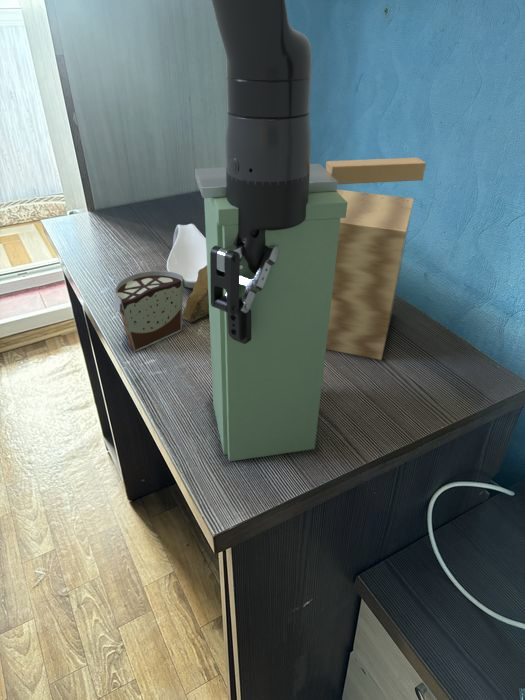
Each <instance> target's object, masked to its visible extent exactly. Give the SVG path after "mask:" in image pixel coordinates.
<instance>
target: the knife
mask: <svg viewBox="0 0 525 700" xmlns="http://www.w3.org/2000/svg"><path fill="white" fill-rule="evenodd" d="M426 165H427V162H426V161H424V160H422V159H421V158H419V157H399V158H398V157H397V158H396V157H395V158H374V159H349V160H348V159H347V160H327V161H325V168H324V167H323V166H322V165H321V164H320V163H310V176H309V193H315V192H335V191H337V189H338V185H354V184H356V185H357V184H375V183H394V182H413V181H414V182H415V181H418V182H419V181H423V180H424V176H425V171H426ZM194 179H195V181H196V184H197V187H198V190H199V192H200V195H201V198H202V199H204V198H217V197H227V186H226V166H224V167H205V168H203V167H202V168H201V167H200V168H195V169H194Z"/></svg>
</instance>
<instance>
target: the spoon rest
mask: <svg viewBox="0 0 525 700" xmlns="http://www.w3.org/2000/svg"><path fill="white" fill-rule="evenodd" d="M167 257H168V258H167V261H166V271H168V272H173V273H177V274H180V275H182V276H183V279H184V280H185V284H186V286H184V287H185V288H188V289H193V288H194V285H195V283H196V281H197V278H198V272H199V270H200V269H202V268H204V267H205V266H206V265H207V251H206V236H204V234H202V232H201V230H199V229H198V228H197V226H196V225H195V223H188V224H177V225H176V227H175V229H174V233H173V239H172V247H171V250H170V252H169V254H168V256H167Z"/></svg>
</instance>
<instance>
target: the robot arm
mask: <svg viewBox="0 0 525 700" xmlns="http://www.w3.org/2000/svg"><path fill="white" fill-rule="evenodd" d="M210 1H211V6H212V9H213V13H214V14H213V15H214V17H215V22H216V27H217V30H218V34H219V38H220V40H221V44H222V48H223V51H224V56H225V86H226V87H225V89H226V91H225V92H226V111H227V112H226V127H225V135H224V137H225V138H224V147H225V148H224V150H225V151H224V153H225V167H226V186H227V201H228V202H229V203H230V204H231V205H232V206H234V207H236V208H238V234H237V237H236V239H235V241H234V244H233V245H232V246H229V247H227V248H222V247H219V246H214V247H213V248H212V249H211V252H210V278H211V306H212V307H215V308H217V309H220V310H223V311H225V312H228V324H229V325H228V332H229V335H230V337H231V338H232V339H234V340H236V341H238V342H241V343H243V344H246V343H248V342H249V341H251V310H250V307H251V305H252V302H253V300H254V297H255V295H256V293H257V292H260V291H261V290H262V289H263V287H264V284H265V282H266V279H267V276H268V274H269V271H270V269H271V266H272V265H274V264H275V262H276V260H277V257H278V255H279V247H278V246H275V245H271V246H268V247H267V245H265V231H266V230H268V231H272V230H283V229H288V228H292V227H295V226H297V225H299V224H301V223H302V222H303V221H304V220H305V218H306V204H307V203H308V194H309V176H310V164H311V155H312V154H311V153H312V131H311V130H312V129H311V113H310V111H311V98H312V97H311V96H312V95H311V94H312V81H313V79H312V75H313V49H312V46H311V45H312V44H311V42H310V40H309V38H308V37H307V36H306V35H305V34H304V33H302V32H301V31H299V30H296V29H294V28H293V27H292V26H291V24H290V21H289V16H288V10H287V3H286V0H210ZM242 256H244V258H245V259H246V261H247V262H248V267H249V269H250V270H251V271H252V272H253V273H254V274H255V275H256V276H255V277H254V278H253V279H248V278H245V277H242V276H240V270H241V269H242V264H240V261H241V257H242ZM239 285H242V286H244V287H246V290H245V293H244V295H243V298H239ZM223 289H225V290H226V291H227V292H226V295H225V296H223Z"/></svg>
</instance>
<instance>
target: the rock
mask: <svg viewBox="0 0 525 700" xmlns="http://www.w3.org/2000/svg"><path fill="white" fill-rule="evenodd" d="M207 315H209V296H208V274H207V265H206V266H205V267H204V268H202V269H200V270H199V272H198V278H197V281H196V283H195V285H194V288H192V291H191V293H190V294H189V295H188V297H187V299H186V304H185V307H184V309H183V310H182V319H184V320H185V321H186V322H188V323H194V322H196V321H198V320H200V319H201V318H204V317H206V316H207Z"/></svg>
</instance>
